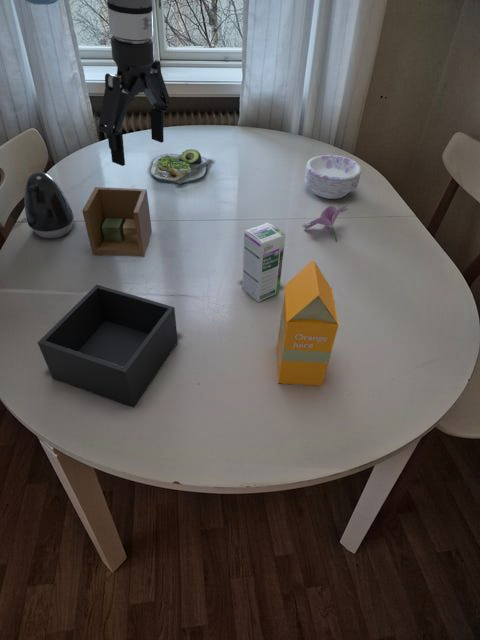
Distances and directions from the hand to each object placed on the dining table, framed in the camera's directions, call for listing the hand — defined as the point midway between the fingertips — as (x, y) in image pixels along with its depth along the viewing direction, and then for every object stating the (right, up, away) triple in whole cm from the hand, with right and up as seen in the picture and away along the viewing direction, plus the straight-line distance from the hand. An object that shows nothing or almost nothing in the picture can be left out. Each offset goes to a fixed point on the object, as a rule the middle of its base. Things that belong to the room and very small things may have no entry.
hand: (139, 151), depth 92 cm
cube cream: (-3, -17, +10) cm, 20 cm away
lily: (+43, -15, +16) cm, 49 cm away
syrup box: (+26, -30, -1) cm, 40 cm away
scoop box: (-6, -19, +9) cm, 22 cm away
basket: (0, -43, -17) cm, 46 cm away
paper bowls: (+48, +1, +33) cm, 58 cm away
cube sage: (-8, -17, +10) cm, 21 cm away
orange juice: (+32, -44, -16) cm, 57 cm away
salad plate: (+4, +9, +39) cm, 41 cm away
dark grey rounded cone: (-23, -15, +12) cm, 30 cm away
